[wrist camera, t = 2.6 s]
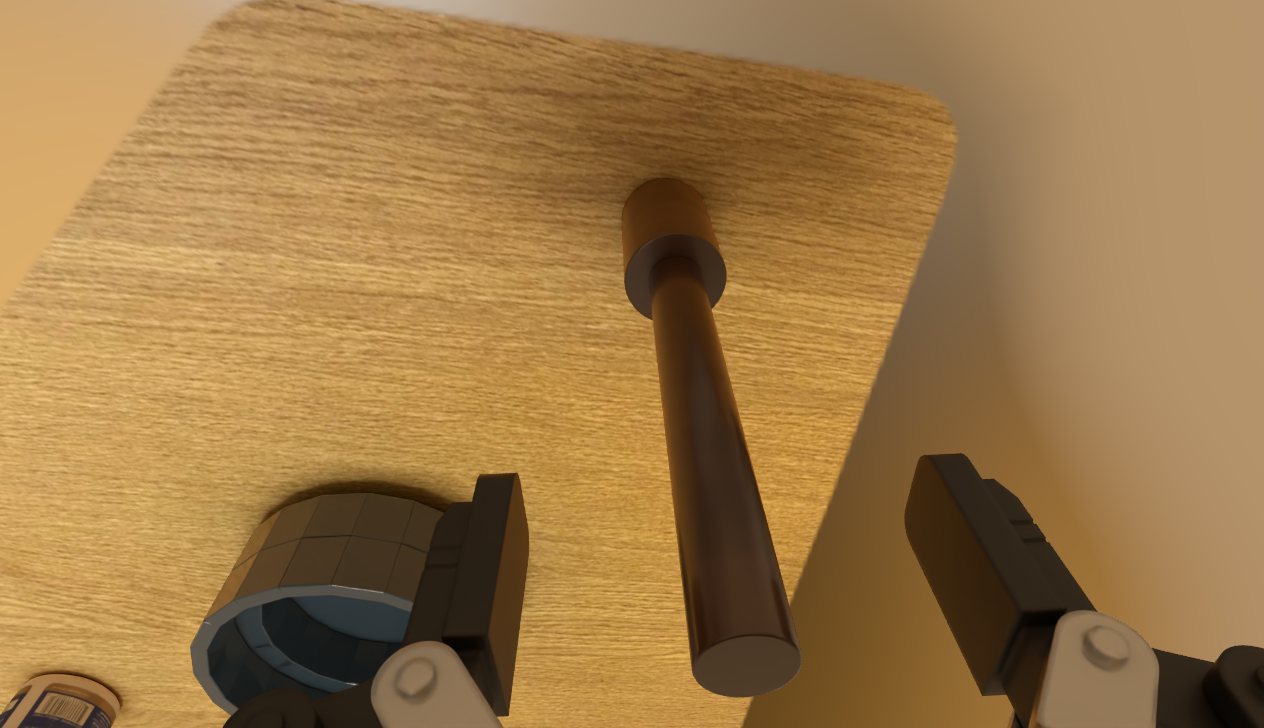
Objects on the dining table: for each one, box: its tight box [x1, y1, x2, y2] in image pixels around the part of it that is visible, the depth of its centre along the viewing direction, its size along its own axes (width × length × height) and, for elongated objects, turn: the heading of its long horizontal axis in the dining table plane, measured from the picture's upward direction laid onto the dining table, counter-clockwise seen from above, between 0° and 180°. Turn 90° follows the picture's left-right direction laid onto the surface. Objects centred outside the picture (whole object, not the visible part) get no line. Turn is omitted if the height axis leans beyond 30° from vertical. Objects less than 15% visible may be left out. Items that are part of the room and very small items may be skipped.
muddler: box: [622, 178, 802, 697], centre depth 18 cm, size 3×3×18 cm
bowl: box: [190, 493, 444, 716], centre depth 33 cm, size 13×13×6 cm
